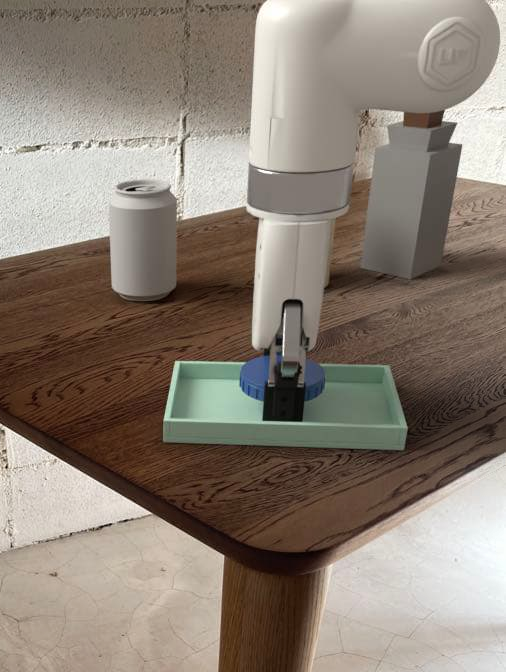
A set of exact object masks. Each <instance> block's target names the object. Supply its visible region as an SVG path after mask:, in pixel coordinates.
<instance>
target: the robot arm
mask: <svg viewBox="0 0 506 672" xmlns="http://www.w3.org/2000/svg"><path fill="white" fill-rule="evenodd" d="M256 16H257V17H256V20H255V21H256V22H255V30H254V31H255V32H254V47H253V48H254V50H253V69H252V72H253V73H252V88H251V89H252V90H251V91H252V92H251V112H250V129H249V131H250V132H249V147H248V148H249V149H248V166H247V167H248V168H247V169H248V170H247V187H246V188H247V189H246V190H247V191H246V206H245V208H246V212H247V213H248V214H250V215H251V216H253V217H256V218H258V219H259V220H258V227H257V235H256V236H257V237H256V246H255V247H256V248H255V261H254V262H255V263H254V279H253V295H252V296H253V298H252V319H251V346H252V347H253V349H254V350H256V351H257V352H261V349H263V356H268V355H270V360H269V378H268V381H265V388H264V402H263V416H262V421H278V422H302V421H303V411H304V401H305V391H306V382H304V376H305V360H306V358H307V352H310V351H311V350H313V349H314V348H315V347H316V345H317V339H318V333H319V327H320V322H321V316H322V315H321V314H322V306H323V301H324V300H323V299H324V292H325V288H324V285H325V276H326V268H327V258H328V249H329V239H330V229H331V219H333V218H336V219H337V218H340V217H342V216H344V215H346V214H347V213H348V212H349V209H350V201H351V193H352V184H353V175H354V166H355V159H356V158H355V156H356V149H357V140H358V131H359V122H360V116H361V115H360V113H361V110H379V111H390V112H399V113H404V112H409V113H432V112H438V111H442V110H445V111H446V110H449V109H451V108H453V107H455V106H458V105H459V104H461V103H463V102H465V101H466V100H468V99H469V98H471V97H472V96H473V95H474V94H475V93H477V91H479V90H480V89H481V87H482V86H483V85H484V84H485V82H486V81H487V80H488V78H489V77H490V75H491V74H492V72H493V69H494V67H495V66H496V63H497V60H498V57H499V53H500V47H501V31H500V30H501V29H500V24H499V21H498V18H497V16H496V14H495V12H494V10H493V7H491V5H490V4H489V3H488V2H487V1H486V0H266V1H265V2H263V3H262V5H261V6H260V7H259V10H258V12H257V15H256ZM277 355H282V356H281V362H280V361H278V363H277V365H276V361H277Z"/></svg>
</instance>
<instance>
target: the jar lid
mask: <svg viewBox="0 0 506 672" xmlns="http://www.w3.org/2000/svg"><path fill="white" fill-rule="evenodd" d="M281 356H282V355H277V361H276V365H277V363H278V361H280V362H281ZM269 360H270V355H268V356H264V355H263V356H259V357H255V358H252V359H250V360H248V361H245V362H246V363H245V364H244V365H243V366H242V368H241V372H240V383H239V387H241V390H242V392H244V393H245V394H246V395H247V396H249V397H251V398H253V399H256V400H259V401H262V402H264V388H265V381H268V378H269ZM319 364H320V363H318V362H316V361H314V360H312V359H309V358H307V357H306V360H305V376H304V382H306V391H305V401H304V402H306V401H309V400H312V399H314V398H317V396H319V395H320V394H322V391H323V389H324V387H325V371H324V369H323V367H322V366H321V365H319Z"/></svg>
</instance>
